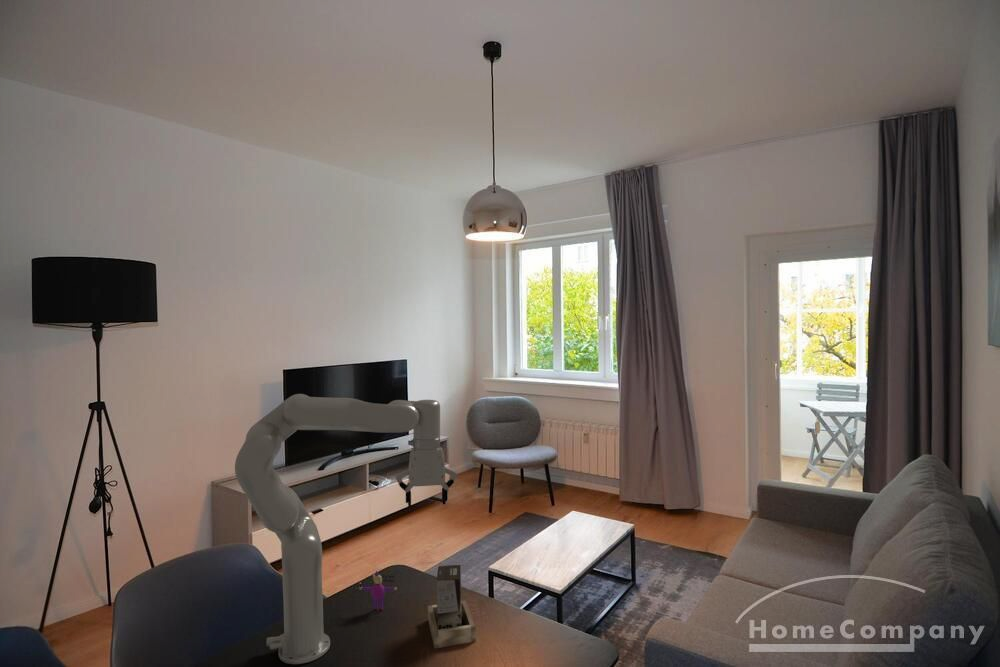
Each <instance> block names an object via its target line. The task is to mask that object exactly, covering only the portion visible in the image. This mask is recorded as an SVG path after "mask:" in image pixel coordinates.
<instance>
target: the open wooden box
mask: <svg viewBox="0 0 1000 667" xmlns="http://www.w3.org/2000/svg"><path fill="white" fill-rule="evenodd" d="M467 602H468V601H467V600H461V603H462V618H463V619H462V620H463V623H464V624H465V625H462V626H459V627H453V628H447V629H441V630H438V623H437V604H432V605H427V621H428V624H429V630H430V634H431V640H432V644H433V648H434V649H439V648H440V649H441V648H446V647H451V646H457V645H463V644H464V645H465V644H469V643H475V642H477V639H476V637H477V635H476V632H477V631H476V625H475V621H474V619H473V616H472V613H471V610H470V608H469V606H468V603H467Z"/></svg>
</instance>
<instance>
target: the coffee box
mask: <svg viewBox="0 0 1000 667" xmlns="http://www.w3.org/2000/svg"><path fill="white" fill-rule="evenodd" d="M461 601H462V572H461V564H451V565H450V564H449V565H438V567H437V574H436V605H437V621H436V624H437V628H438V630H441V629H447V628H453V627H459V626H463V624H462V623H463V619H462V618H463V617H462V603H461Z"/></svg>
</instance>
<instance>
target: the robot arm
mask: <svg viewBox="0 0 1000 667" xmlns="http://www.w3.org/2000/svg"><path fill="white" fill-rule="evenodd" d="M298 430H299V431H351V432H368V433H369V432H370V433H381V434H382V433H383V434H384V433H385V434H389V433H391V434H392V433H394V434H396V433H397V434H398V433H408V432H411V431H412V430H413V434H412V435H413V438H412V439H410V440H408V441H407V445H408V446H411V449H410V453H409V460H408V462H409V463H408V468H407V469H406V470H404V471H402V472H400V473H399V474H397V475H395V481H396V482H397V484H398V485H399V488H401V489H402V491H403V492H405V504H408V508H410V507H411V506H412V492H411V489H412V488H413V487H429V486H432V487H433V486H441V487H442V488H441V502H442V505H446V501H448V496H449V495H448V492H449V491H448V490H449V488H451V487H452V485H453V484H454V483H455V480H456V479H457V477H458V473H457V472H456V471H454V470H451V469H450V468H447V467H446V464H445V453H444V449H443V448H442V446H441V405H440V402H439V401H437V400H435V399H421V400H420V399H419V400H404V399H395V400H392V401H390V402H389V403H374V402H368V401H364V400H360V399H358V398H352V397H327V396H326V397H323V396H322V397H320V396H319V397H318V396H309V395H307V394H304V393H296V394H293V395H291V396H289V397H288V398H286V399H285V400H284V401H282V402H281V403H280V404H279V405H278V406H276V407H275V408H274V409H272V411H270V412H268V413H267V414H266V415H265V416H263V417H262V418H261V419H259V420H258V421H256V422H255V423H254V424H253V425H252V426H251V427H250V428H249V430H248V431H247V432H246V435H245V440H244V443H243V444H242V446H241V448H240V449H239V451H238V453H237V455H236V458H235V462H234V474H235V478H236V480H237V483H238V484H239V486H240V488H241V489H242V491H243V493H244V494H245V496H246V498H247V499H248V502H249V503H250V505H251V507H252V508H253V510H254V511H255V513H256V514H257V516H258V518H259V519H260V522H261V523H262V524H263V526H264V527H265V529H267V530H268V531H270V532H272V533H275V535H276V536H277V538H278V539H279V541H280V543H281V544H280V549H281V566H282V568H281V570H282V595H283V596H282V597H283V628H284V629H283V630H284V632H283V633H281V634H280V635H278V636H270V637H266V643H265V644H266V647H269V650H270V651H272V650H276V649H278V658H279V659H280V661H282V663H285V664H289V665H301V664H302V665H303V664H306V663H310V662H313V661H315V660H317V659H319V658H321V657H322V656H323V655H325V654H326V653H327V652H328V650H329V649H330V646H331V638H330V636H329V635H328V634H326V633H325V630H324V606H323V605H324V604H323V603H324V600H323V574H322V573H323V571H322V570H323V569H322V568H323V546H322V540H321V536H320V533H319V530H318V527H317V524H316V523H315V522H314V521H315V520H314V519H313V518H312V517H311V515H310V513H309V512H308V510H307V509H306V507H305V505H304V504H303V502H302V500H301V499H300V497H299V495H298V494H297V493H296V492H295V490H294V489H292V488H291V487H289V486H287V485H285V484H284V483H283V481H282V479H281V477H280V476H279V474H278V472H277V471H276V469H275V468H274V460H275V458H276V457H277V455H278V454H279V453H280V451H281V447H282V443H284V442H285V441H286V440H287V439H288V438H290V436H292V435H294V433H296V432H297V431H298ZM446 474H447V475H448V476H450V478H449V479H448V480H447V481H446ZM407 476H408V482H407V483H405V482H404V481H403V478H405V477H407Z"/></svg>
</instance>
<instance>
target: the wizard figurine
mask: <svg viewBox="0 0 1000 667" xmlns="http://www.w3.org/2000/svg"><path fill="white" fill-rule="evenodd" d="M387 578H388V579H387ZM394 578H395V575H388V576H387V574H386V575H382V576H381V575H380V574H379V573H378V571H377V570H376V571H375V573H374V574H372V579H373V582H374V584H373V585H372V587H369V586H367V587H363V586H362V583H361V582H359V590H360V591H361V590H370V594H371V597H372V598H373V599H374V600H373V601H374V610H376V611H377V610H378V609H379V607H378V601H379V600H380V610H381V611H384V609H385V608H384V602H383V600H384V599H383V598H384V597H385V593H386V590H388V591H390V590H393V591H397V589H398V588H397V587H396V586H395V587H384V585H383V584H382V583H386V582H387V583H394V582H395V579H394Z"/></svg>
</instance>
